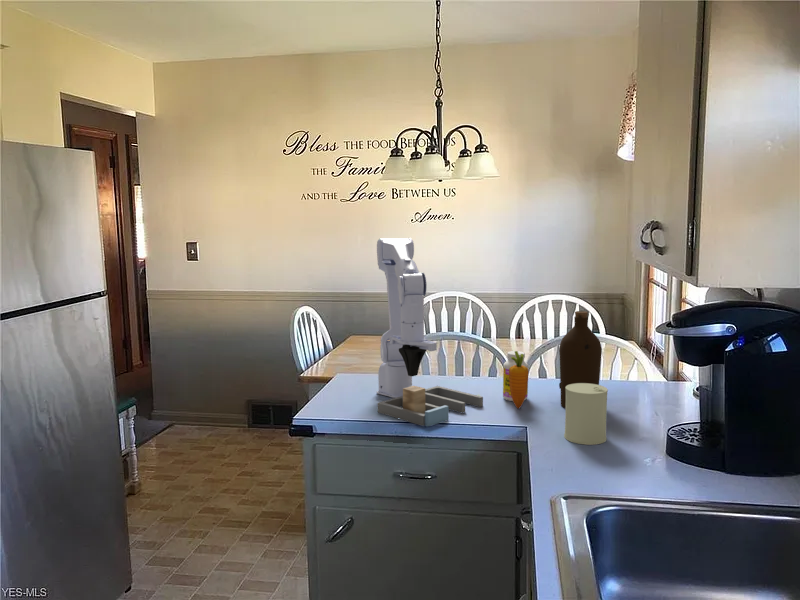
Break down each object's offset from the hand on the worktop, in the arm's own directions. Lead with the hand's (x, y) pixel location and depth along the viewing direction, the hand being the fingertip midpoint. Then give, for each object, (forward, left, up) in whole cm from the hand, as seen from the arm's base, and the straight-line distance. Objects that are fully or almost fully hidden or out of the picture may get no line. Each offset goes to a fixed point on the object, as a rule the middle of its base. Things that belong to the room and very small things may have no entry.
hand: (412, 375), depth 164 cm
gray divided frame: (0, +7, -10) cm, 13 cm away
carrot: (+15, +23, -11) cm, 30 cm away
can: (+39, +15, -11) cm, 44 cm away
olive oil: (+25, +36, -11) cm, 46 cm away
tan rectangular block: (0, 0, -10) cm, 11 cm away
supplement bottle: (+9, +30, -11) cm, 33 cm away
